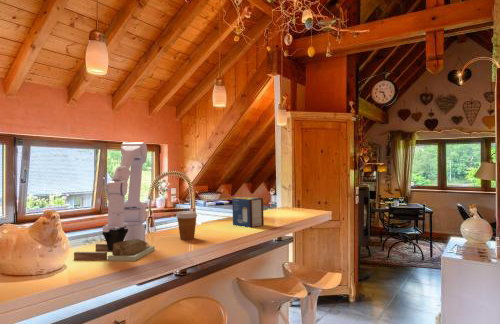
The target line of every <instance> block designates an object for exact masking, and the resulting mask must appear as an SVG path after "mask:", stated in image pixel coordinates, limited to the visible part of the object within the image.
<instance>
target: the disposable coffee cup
mask: <svg viewBox="0 0 500 324" xmlns="http://www.w3.org/2000/svg"><path fill="white" fill-rule="evenodd" d="M176 213H177V214H176V219H177V225H178V233H179V237H180V240H181V241H189V240H194V239H195V235H196V233H195V232H196V225H197V217H198V213H197V212H196V211H179V212H178V211H177V212H176Z"/></svg>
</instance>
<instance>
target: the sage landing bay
mask: <svg viewBox="0 0 500 324" xmlns="http://www.w3.org/2000/svg"><path fill="white" fill-rule="evenodd" d="M155 247H156V246H155V245H145V250H143V251H141V252H140V253H138V254H136V255H134V256H113V255H107V261H111V262H116V261H117V262H122V261H123V262H136V261H138V260H139V259H141V258H143V257H144V256H146V255H148V254H151V252H153V251H155Z"/></svg>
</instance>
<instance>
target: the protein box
mask: <svg viewBox="0 0 500 324" xmlns="http://www.w3.org/2000/svg"><path fill="white" fill-rule="evenodd" d="M231 198H232V199H231V201H232V225H233V226H237V225H238V227H242V226H245V227H244V228H248V227H251V228H256V227H255V226H257V227H262V226H261V225H265V223H264V219H265V217H264V198H263V197H253V196H239V197H231Z"/></svg>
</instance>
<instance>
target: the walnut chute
mask: <svg viewBox="0 0 500 324" xmlns="http://www.w3.org/2000/svg"><path fill="white" fill-rule="evenodd" d="M107 251H108V252H110V251H109V250H108V246H107V243H96V244H95V251H74V252H73V260H77V261H78V260H79V261H80V260H84V261H85V260H92V261H93V260H94V261H95V260H97V261H99V260H100V261H106V260H108V252H107Z"/></svg>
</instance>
